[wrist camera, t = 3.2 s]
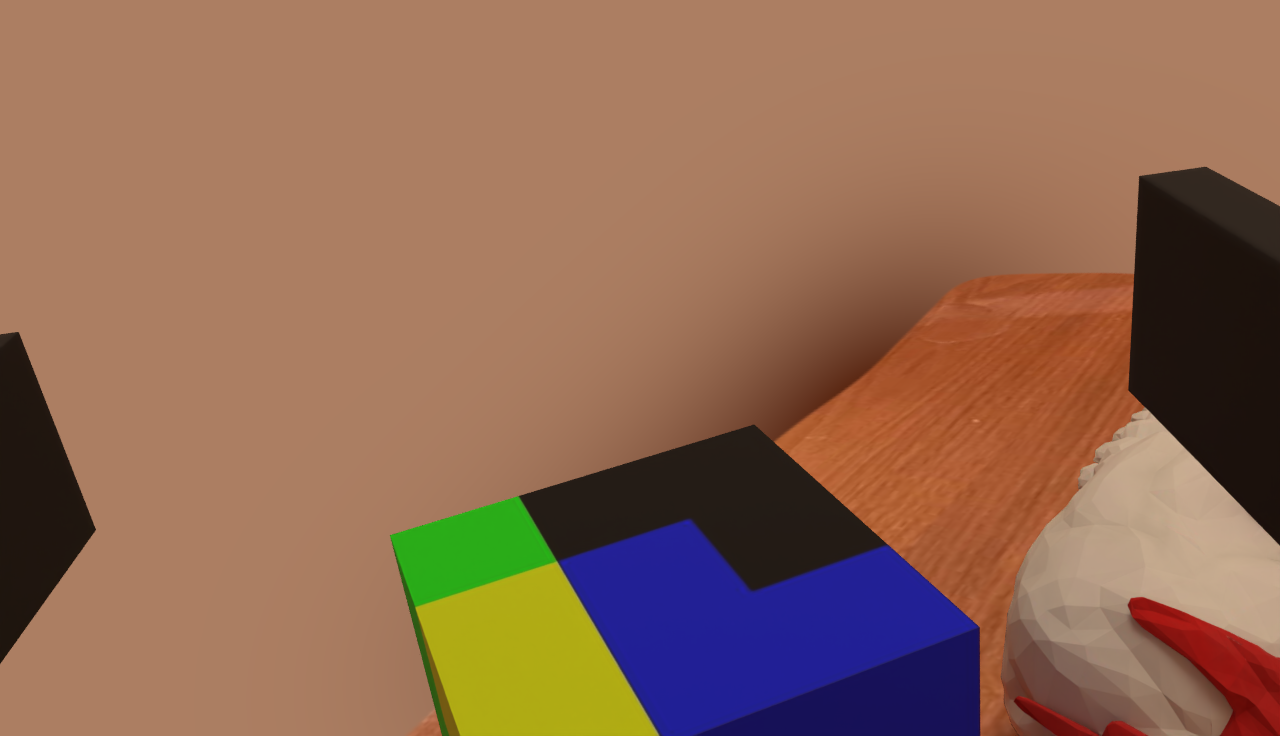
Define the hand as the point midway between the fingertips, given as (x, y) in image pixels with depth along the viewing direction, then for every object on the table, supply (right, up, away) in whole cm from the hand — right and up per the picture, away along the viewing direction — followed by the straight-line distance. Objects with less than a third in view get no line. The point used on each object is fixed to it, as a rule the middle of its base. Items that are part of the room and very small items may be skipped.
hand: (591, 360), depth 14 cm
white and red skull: (+16, -11, +18) cm, 26 cm away
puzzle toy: (+2, -14, +16) cm, 21 cm away
